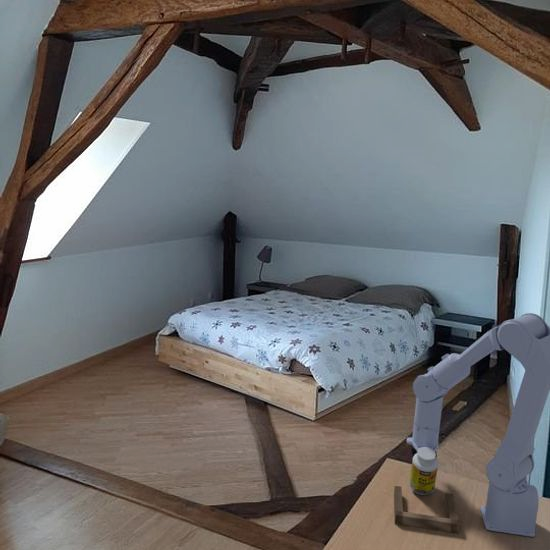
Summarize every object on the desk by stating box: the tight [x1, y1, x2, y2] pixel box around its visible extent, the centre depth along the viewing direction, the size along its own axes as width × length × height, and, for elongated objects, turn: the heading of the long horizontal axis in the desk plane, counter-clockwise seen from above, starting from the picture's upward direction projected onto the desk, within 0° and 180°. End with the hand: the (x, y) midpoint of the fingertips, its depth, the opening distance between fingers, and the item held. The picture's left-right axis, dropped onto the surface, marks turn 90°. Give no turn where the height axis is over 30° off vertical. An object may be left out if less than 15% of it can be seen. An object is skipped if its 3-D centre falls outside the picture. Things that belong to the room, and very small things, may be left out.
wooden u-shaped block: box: [393, 485, 460, 534], centre depth 121 cm, size 12×11×2 cm
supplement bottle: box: [408, 447, 439, 496], centre depth 127 cm, size 6×6×10 cm
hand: (420, 477), depth 133 cm, fingers closed
